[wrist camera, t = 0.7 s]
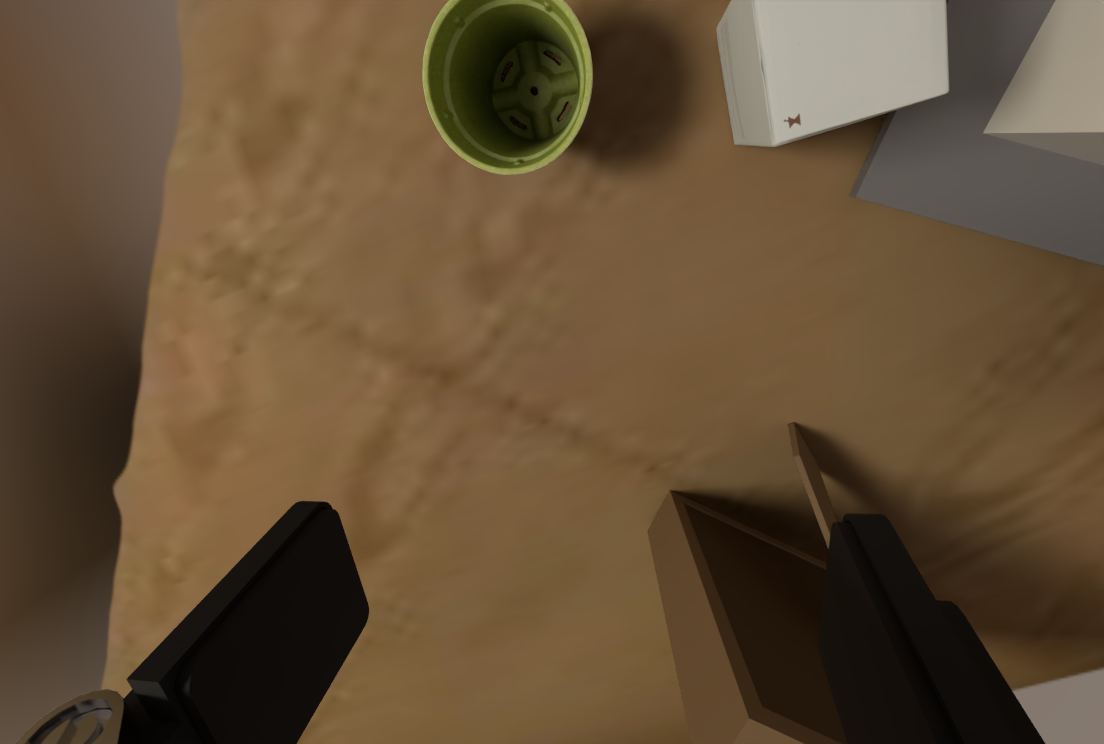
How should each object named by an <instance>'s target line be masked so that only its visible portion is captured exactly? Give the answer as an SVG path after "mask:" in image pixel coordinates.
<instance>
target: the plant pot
mask: <svg viewBox="0 0 1104 744" xmlns="http://www.w3.org/2000/svg"><path fill="white" fill-rule="evenodd" d="M547 50H548V51H550V52H552V53H553V54H555V55H556V56H558V57H559V58H560V59H561V65H558V64H557V63H556V62H555V61H554V60H552V59H551V58H549V57H548V56H546V55H544V52H545V51H547ZM510 61H511V62H512V63H513V66H512V67H511V68H510V70H509V72H508V73H507V75H506V78H504V82H502V79H501V77H502V72H503V70H504V68H505V66H506V65H507V63H509V62H510ZM533 87H536V88H537V90H538V94H537V95H535V96H534V95H533V94H531V88H533ZM592 87H593V64H592V57H591V52H590V48H589V44H588V41H587V38H586V35H585V32H584V30H583V27H582V26H581V24H580V22H579V20H578V18H577V16H576V15H575V13H574V12H573V11H572V9H571V8H570V7H569V6H568V4H567V3H566V2H565V1H564V0H449V1H448V2H447V3H446V5H445V6H444V7H443V9H442V10H441V12H440V13H439V15H438V16H437V18H436V20H435V21H434V23H433V26H432V28H431V30H430V33H429V37H428V39H427V43H426V47H425V51H424V58H423V88H424V94H425V99H426V103H427V106H428V110H429V112H430V115H431V117H432V120H433V122H434V124H435V126H436V127H437V129H438V131H439V133H440V134H441V136H442V137H443V139H444V140H445V141H446V143H447V144H448V145H449V146H450V147H451V148H452V149H453V150H454V151H455V152H456V153H457V154H458V155H459V156H460V157H462V158H463V159H465V160H466V161H467V162H469V163H471V164H472V165H474V166H476V167H478V168H480V169H483V170H486V171H489V172H492V173H496V174H503V175H513V174H523V173H527V172H531V171H534V170H537V169H539V168H542V167H544V166H545V165H547V164H549V163H550V162H552V161H553V160H555V159H556V158H557V157H558V156H560V155H561V154H562V153H563V152H564V151H565V150H566V149H567V147H568V146H569V145H570V144H571V143H572V141H573V140H574V139H575V137H576V135H577V134H578V132H579V130H580V128H581V126H582V124H583V122H584V119H585V117H586V114H587V111H588V107H589V104H590V100H591V94H592ZM566 102H569V103H570V109H569V110H568V112H567V113H566V115H565V117H564V118H563V119H562V120H561V121H557V117H558V116H559V115H560V114H561V112H562V111H563V109H564V107H565V104H566ZM512 116H513V117H514V118H515V119H516V120H517V121H518V122H520V123H521V124H523V125H525V126H527V129H526V130H522V129H521V128H519V127H518V126H515V125H514V124H513V123H512V122H511V121H510V117H512Z"/></svg>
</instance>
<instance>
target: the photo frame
mask: <svg viewBox="0 0 1104 744" xmlns="http://www.w3.org/2000/svg"><path fill="white" fill-rule="evenodd" d="M788 426H789V432H790V439H791V445H792V451H793V457H794V460H795V462H796V465H797V468H798V470H799V473H800V475H801V478H802V481H803V483H804V486H805V489H806V491H807V494H808V497H809V499H810V502H811V504H812V507H813V510H814V512H815V515H816V518H817V520H818V523H819V526H820V528H821V531H822V534H823V536H824V539H825V541H826V544H827V547H828V549H829V541H830V533H831V527H832V524H833V523H834V522H837V520H836V517H835V514H834V511H833V508H832V505H831V503H830V500H829V497H828V494H827V491H826V488H825V485H824V482H823V479H822V476H821V473H820V470H819V467H818V464H817V462H816V461H815V459H814V457H813V455H812V454H811V452H810V450H809V448H808V447H807V445H806V443H805V441H804V440H803V438H802V436H801V434H800V433H799V431H798V429H797V427H796V426H795V424H794V423H791V424H788ZM648 536H649V541H650V545H651V550H652V555H653V560H654V565H655V570H656V574H657V579H658V584H659V589H660V594H661V599H662V603H663V608H664V613H665V618H666V623H667V628H668V632H669V637H670V642H671V647H672V652H673V657H674V661H675V666H676V671H677V676H678V681H679V686H680V690H681V695H682V700H683V705H684V710H685V715H686V719H687V724H688V729H689V734H690V739H691V744H847V741H846V737H845V734H844V731H843V728H842V724H841V721H840V718H839V715H838V712H837V708H836V705H835V702H834V699H833V695H832V692H831V689H830V686H829V682H828V679H827V676H826V673H825V670H824V666H823V663H822V660H821V656H820V651H819V644H818V632H819V624H820V616H821V607H822V599H823V591H824V583H825V574H826V566H827V563H825V562H823V561H821V560H819V559H817V558H815V557H812V556H810V555H808V554H806V553H804V552H802V551H799V550H797V549H795V548H793V547H791V546H789V545H787V544H784V543H782V542H780V541H778V540H776V539H774V538H772V537H769V536H767V535H765V534H763V533H761V532H759V531H756V530H754V529H752V528H750V527H748V526H746V525H744V524H741V523H739V522H737V521H735V520H733V519H731V518H728V517H726V516H724V515H722V514H720V513H718V512H716V511H713V510H711V509H709V508H707V507H705V506H703V505H700V504H698V503H696V502H694V501H692V500H690V499H688V498H685V497H683V496H681V495H679V494H677V493H675V492H672V491H669V493H668V495H667V496H666V498H665V500H664V502H663V504H662V506H661V508H660V509H659V511H658V513H657V515H656V517H655V519H654V520H653V522H652V524H651V526H650V528H649V530H648Z"/></svg>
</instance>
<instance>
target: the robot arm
mask: <svg viewBox="0 0 1104 744" xmlns="http://www.w3.org/2000/svg"><path fill="white" fill-rule="evenodd" d="M368 615H369V606H368V602H367V599H366V596H365V593H364V590H363V587H362V584H361V581H360V578H359V575H358V571H357V568H356V565H355V562H354V559H353V556H352V553H351V550H350V547H349V544H348V541H347V538H346V535H345V532H344V529H343V526H342V523H341V520H340V517H339V514H338V512H337V511H336V510H334V509H332V507H331V505H330V504H329V503H327V502H313V501H300V502H297V503H295V504H294V505H293V506H292V507H291V508H290V509H289V510H288V511H287V512H286V513H285V514H284V515H283V516H282V517H281V518H280V519H279V520H278V521H277V522H276V523H275V525H274V526H273V527H272V528H271V529H270V530H269V531H268V532H267V533H266V534H265V535H264V536H263V537H262V538H261V539H260V540H259V541H258V542H257V543H256V544H255V545H254V546H253V548H252V549H251V550H250V551H249V552H248V553H247V554H246V555H245V556H244V557H243V558H242V559H241V560H240V561H239V562H238V563H237V564H236V565H235V566H234V567H233V568H232V569H231V571H230V572H229V573H228V574H227V575H226V576H225V577H224V578H223V579H222V580H221V581H220V582H219V583H218V584H217V585H216V586H215V587H214V588H213V589H212V590H211V591H210V592H209V593H208V595H207V596H206V597H205V598H204V599H203V600H202V601H201V602H200V603H199V604H198V605H197V606H196V607H195V608H194V609H193V610H192V611H191V612H190V613H189V614H188V615H187V616H186V618H185V619H184V620H183V621H182V622H181V623H180V624H179V625H178V626H177V627H176V628H175V629H174V630H173V631H172V632H171V633H170V634H169V635H168V636H167V637H166V638H165V639H164V641H163V642H162V643H161V644H160V645H159V646H158V647H157V648H156V649H155V650H154V651H153V652H152V653H151V654H150V655H149V656H148V657H147V658H146V659H145V660H144V661H143V662H142V663H141V665H140V666H139V667H138V668H137V669H136V670H135V671H134V672H133V673H132V674H131V675H130V676H129V677H128V678H127V681H128V682H129V684H130V686H131V687H132V691H131V692H130V693H129V694H128V695H127V696H126V697H125V698H123V697H122V696H121V695H120V694H119V693H118V692H117V691H113V690H108V689H105V690H97V691H92V692H89V693H86V694H83V695H80V696H77V697H75V698H73V699H71V700H70V701H67V702H66V703H64V704H62V705H60V706H58V707H57V708H56V709H54V710H52V711H51V712H50V713H48V714H47V715H45V716H44V717H42V718H41V719H40V720H39V721H38V722H36V723H35V724H34V725H33V726H32V727H31V728H30V729H29V730H28V731H26V732H25V733H24V735H23V736H22V737H21V738H20V739H19V741H18V742H17V743H16V744H297V742H298V740H299V738H300V737H301V735H302V733H303V731H304V730H305V728H306V726H307V725H308V723H309V721H310V719H311V718H312V716H313V714H314V713H315V711H316V709H317V707H318V706H319V704H320V702H321V701H322V699H323V697H324V695H325V694H326V692H327V690H328V689H329V687H330V685H331V683H332V682H333V680H334V678H335V677H336V675H337V673H338V671H339V670H340V668H341V666H342V665H343V663H344V661H345V659H346V658H347V656H348V654H349V652H350V651H351V649H352V647H353V646H354V644H355V642H356V640H357V639H358V637H359V635H360V634H361V632H362V630H363V628H364V627H365V625H366V623H367V620H368ZM818 644H819V651H820V656H821V660H822V663H823V666H824V670H825V673H826V676H827V679H828V682H829V686H830V689H831V692H832V695H833V699H834V702H835V705H836V708H837V712H838V715H839V718H840V721H841V724H842V728H843V731H844V734H845V737H846V741H847V744H1045V743H1044V741H1043V739H1042V738H1041V736H1040V735H1039V733H1038V731H1037V730H1036V728H1035V727H1034V725H1033V723H1032V722H1031V720H1030V719H1029V717H1028V716H1027V714H1026V712H1025V711H1024V709H1023V708H1022V706H1021V704H1020V703H1019V701H1018V700H1017V698H1016V697H1015V695H1014V693H1013V692H1012V690H1011V689H1010V687H1009V685H1008V684H1007V682H1006V681H1005V679H1004V677H1003V676H1002V674H1001V673H1000V671H999V669H998V668H997V666H996V665H995V663H994V662H993V660H992V658H991V657H990V655H989V654H988V652H987V650H986V649H985V647H984V646H983V644H982V642H981V641H980V639H979V638H978V636H977V635H976V633H975V631H974V630H973V628H972V627H971V625H970V623H969V622H968V620H967V619H966V617H965V615H964V614H963V613H962V612H961V610H960V609H959V608H958V606H956V605H955V604H954V603H952V602H951V601H937V600H935V598H934V596H933V594H932V593H931V591H930V589H929V588H928V586H927V584H926V583H925V581H924V579H923V578H922V576H921V574H920V572H919V571H918V569H917V567H916V566H915V564H914V562H913V561H912V559H911V557H910V555H909V554H908V552H907V550H906V549H905V547H904V545H903V544H902V542H901V540H900V539H899V537H898V535H897V533H896V532H895V530H894V528H893V527H892V525H891V523H890V522H889V520H888V519H887V517H886V516H884V515H882V514H845V516H844V518H843V522H834V523H833V524H832V527H831V533H830V541H829V550H828V558H827V566H826V574H825V583H824V591H823V599H822V607H821V616H820V624H819V632H818Z"/></svg>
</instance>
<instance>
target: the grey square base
mask: <svg viewBox="0 0 1104 744" xmlns="http://www.w3.org/2000/svg"><path fill="white" fill-rule="evenodd" d="M946 4H947V33H948V68H949V92H948V93H947V94H944V95H941V96H938V97H935V98H931V99H928V100H925V101H922V102H919V103H916V104H913V105H910V106H907V107H904V108H901V109H898V110H895V111H892V112H888V114H887V116H886V118H885V120H884V123H883V125H882V127H881V129H880V131H879V133H878V135H877V137H876V140H875V142H874V144H873V146H872V148H871V150H870V152H869V154H868V157H867V159H866V161H865V163H864V165H863V167H862V169H861V172H860V174H859V176H858V178H857V180H856V182H855V184H854V186H853V189H852V191H851V193H850V195H849V196H852V197H855V198H859V199H863V200H866V201H870V202H874V203H877V204H881V205H884V206H888V207H892V208H895V209H899V210H903V211H906V212H910V213H913V214H917V215H921V216H924V217H928V218H932V219H935V220H939V221H942V222H946V223H950V224H953V225H957V226H961V227H964V228H968V229H971V230H975V231H979V232H982V233H986V234H990V235H993V236H997V237H1000V238H1004V239H1008V240H1011V241H1015V242H1019V243H1022V244H1026V245H1029V246H1033V247H1037V248H1040V249H1044V250H1048V251H1051V252H1055V253H1058V254H1062V255H1066V256H1069V257H1073V258H1077V259H1080V260H1084V261H1088V262H1091V263H1095V264H1098V265H1102V266H1104V0H946Z"/></svg>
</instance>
